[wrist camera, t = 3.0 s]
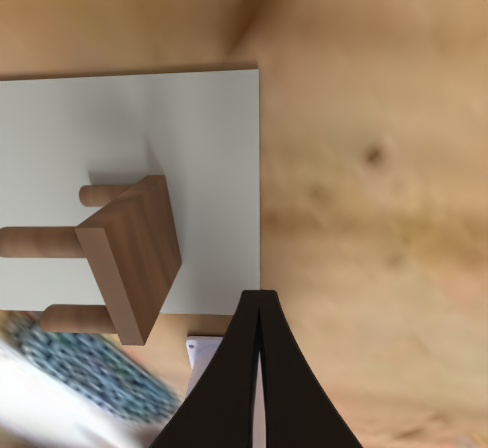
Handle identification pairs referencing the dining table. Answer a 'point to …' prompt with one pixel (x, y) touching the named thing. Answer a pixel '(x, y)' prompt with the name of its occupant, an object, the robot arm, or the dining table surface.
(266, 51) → the dining table surface
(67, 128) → the mat
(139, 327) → the stool
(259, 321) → the robot arm
